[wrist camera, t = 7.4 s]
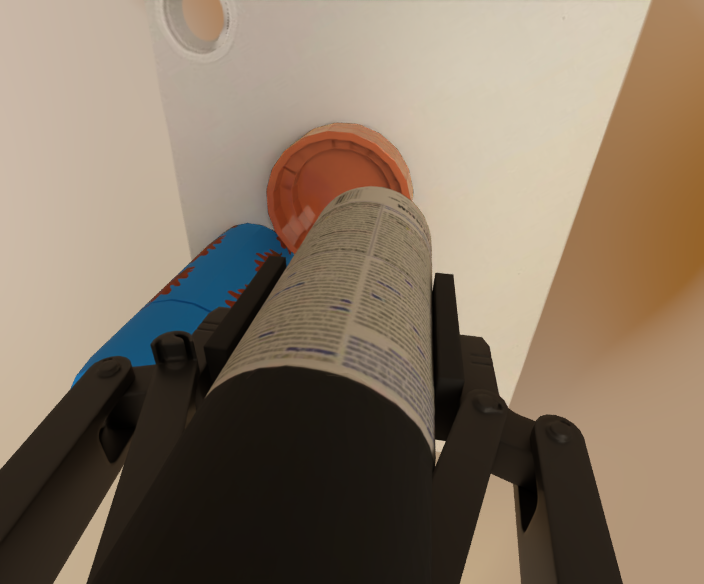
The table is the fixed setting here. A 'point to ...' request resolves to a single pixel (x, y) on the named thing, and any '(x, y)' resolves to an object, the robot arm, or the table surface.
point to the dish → (329, 175)
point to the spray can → (310, 425)
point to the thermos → (195, 292)
